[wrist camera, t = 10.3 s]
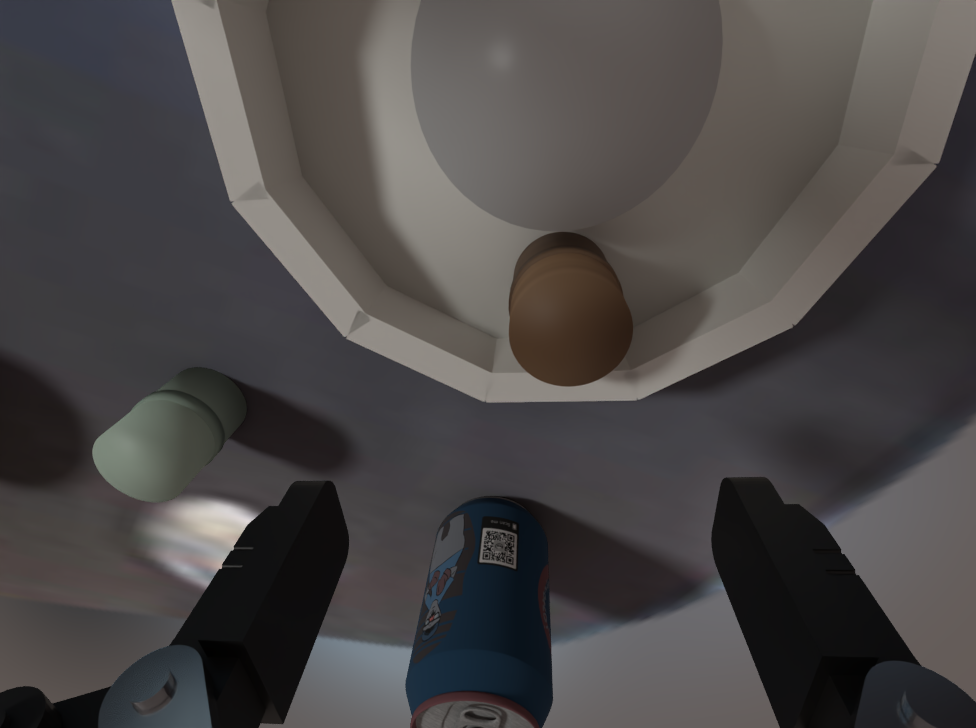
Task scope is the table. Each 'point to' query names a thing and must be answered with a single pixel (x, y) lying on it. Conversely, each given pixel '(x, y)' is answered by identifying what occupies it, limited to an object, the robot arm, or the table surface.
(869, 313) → the table surface
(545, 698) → the soda can
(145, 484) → the sage bead
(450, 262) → the ring tray
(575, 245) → the walnut bead
